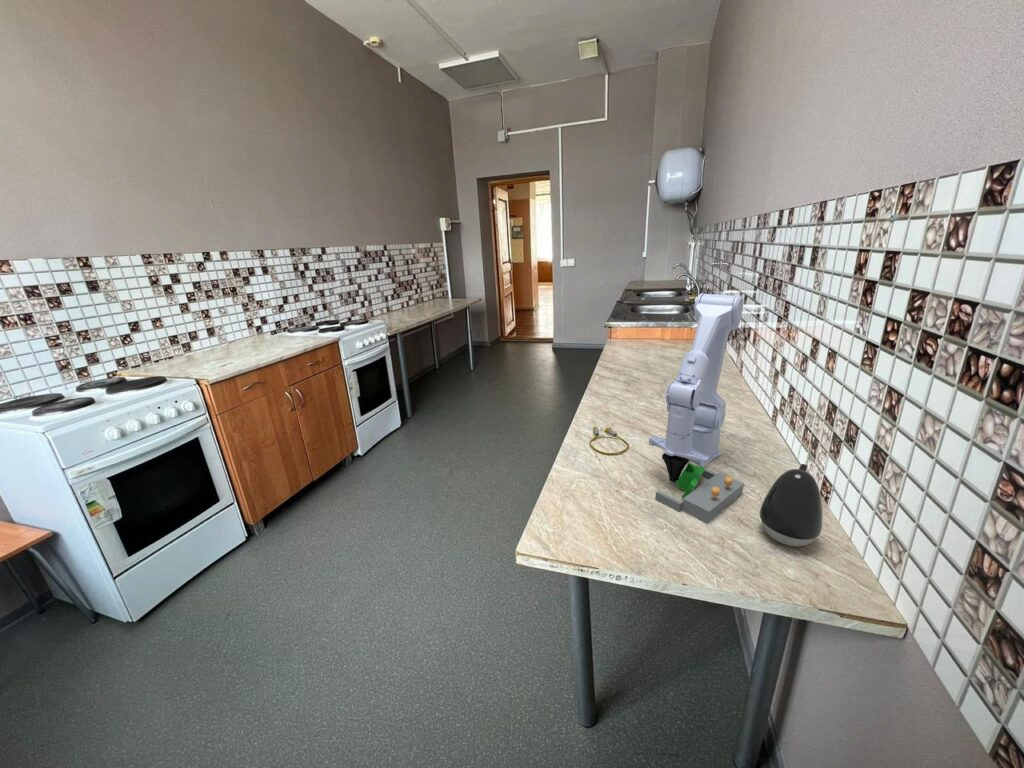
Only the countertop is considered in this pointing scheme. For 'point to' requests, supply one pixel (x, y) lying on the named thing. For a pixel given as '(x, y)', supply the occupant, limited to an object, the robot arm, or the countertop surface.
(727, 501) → the pegged forked bracket
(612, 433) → the extension cord
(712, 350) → the robot arm
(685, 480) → the pipe clamp
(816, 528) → the black rounded dome
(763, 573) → the countertop surface
